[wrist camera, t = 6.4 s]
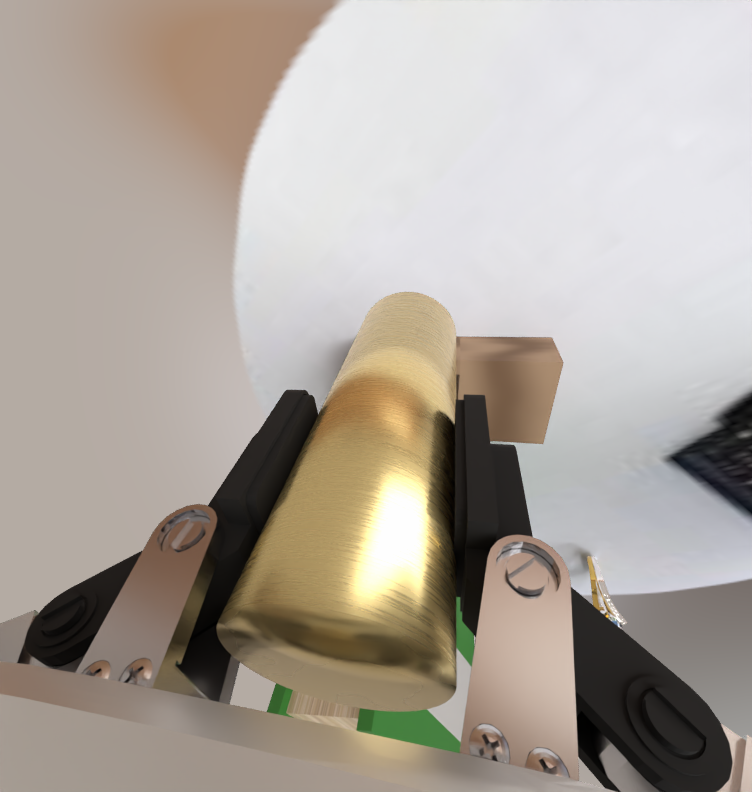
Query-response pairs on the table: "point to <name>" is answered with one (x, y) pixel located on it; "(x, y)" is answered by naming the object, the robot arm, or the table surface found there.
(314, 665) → the peg
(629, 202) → the table surface
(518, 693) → the robot arm
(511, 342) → the eye block
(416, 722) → the hardback book
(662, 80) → the table surface
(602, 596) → the ring
